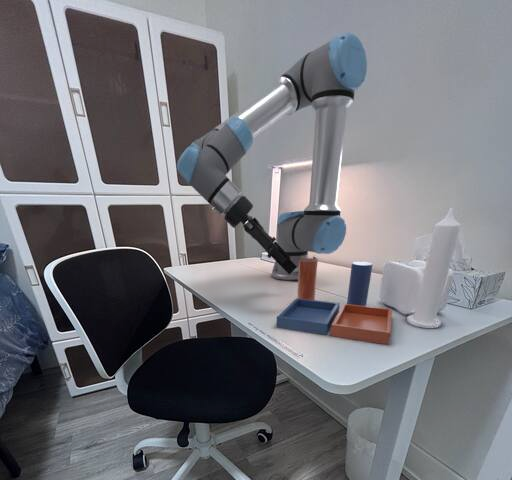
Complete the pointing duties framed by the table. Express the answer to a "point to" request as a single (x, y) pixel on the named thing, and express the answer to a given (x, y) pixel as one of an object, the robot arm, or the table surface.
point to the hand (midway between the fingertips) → (290, 265)
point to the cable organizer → (407, 285)
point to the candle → (436, 272)
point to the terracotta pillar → (307, 279)
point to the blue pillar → (359, 283)
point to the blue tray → (308, 316)
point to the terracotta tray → (363, 323)
